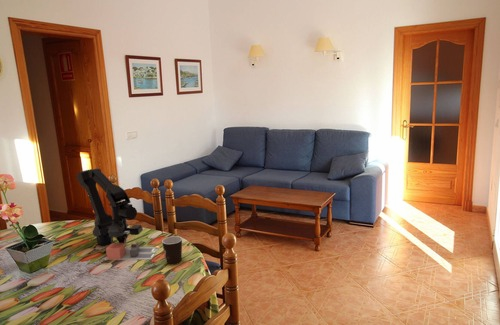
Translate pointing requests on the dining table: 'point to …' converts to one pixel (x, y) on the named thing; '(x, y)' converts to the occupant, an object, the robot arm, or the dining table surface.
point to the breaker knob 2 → (134, 252)
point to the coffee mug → (173, 249)
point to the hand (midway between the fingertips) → (123, 247)
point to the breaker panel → (143, 253)
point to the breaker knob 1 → (135, 245)
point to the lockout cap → (115, 250)
